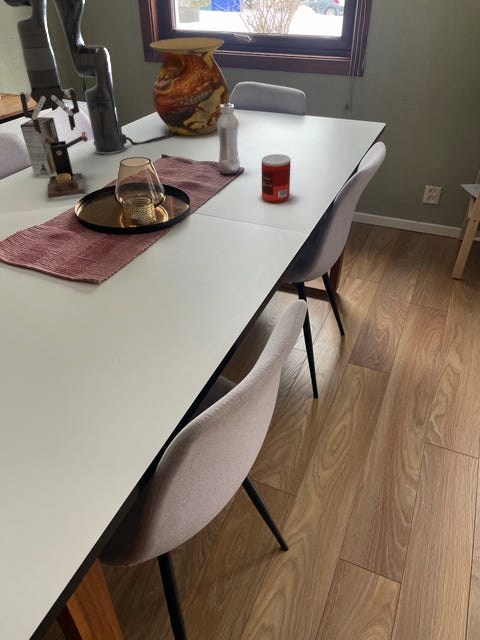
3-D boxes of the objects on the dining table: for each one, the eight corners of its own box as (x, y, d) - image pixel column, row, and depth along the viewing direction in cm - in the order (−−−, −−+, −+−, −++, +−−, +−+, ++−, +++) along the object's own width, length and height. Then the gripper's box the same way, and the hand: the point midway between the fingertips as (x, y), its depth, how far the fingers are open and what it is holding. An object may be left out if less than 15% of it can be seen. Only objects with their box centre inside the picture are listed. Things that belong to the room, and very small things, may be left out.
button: (71, 178, 146) (70, 172, 145) (71, 183, 143) (70, 177, 142) (57, 180, 145) (55, 174, 144) (57, 184, 142) (55, 178, 141)
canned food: (292, 193, 141) (293, 155, 135) (285, 205, 135) (286, 164, 129) (266, 191, 143) (266, 152, 137) (258, 202, 137) (257, 162, 131)
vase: (189, 115, 214) (183, 35, 196) (244, 124, 200) (242, 39, 182) (142, 132, 195) (129, 45, 177) (198, 144, 181) (191, 51, 163)
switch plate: (84, 186, 151) (81, 173, 148) (85, 196, 144) (82, 182, 142) (49, 190, 148) (46, 177, 146) (49, 200, 142) (45, 187, 140)
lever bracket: (82, 176, 158) (74, 138, 151) (83, 185, 151) (74, 145, 144) (51, 180, 156) (41, 141, 149) (50, 189, 149) (40, 149, 142)
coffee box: (48, 167, 165) (35, 116, 156) (66, 168, 164) (54, 117, 155) (34, 177, 158) (19, 124, 149) (52, 178, 157) (38, 125, 148)
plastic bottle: (218, 169, 159) (214, 103, 147) (239, 168, 159) (237, 102, 147) (219, 177, 154) (215, 108, 142) (241, 175, 154) (239, 107, 142)
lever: (88, 136, 150) (84, 129, 149) (89, 141, 146) (85, 134, 145) (57, 153, 150) (52, 146, 149) (57, 158, 146) (52, 151, 145)
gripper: (11, 71, 123) (29, 138, 133) (70, 66, 127) (83, 131, 136) (12, 66, 129) (29, 130, 139) (69, 61, 133) (82, 125, 142)
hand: (56, 131), depth 137 cm, fingers open, 8 cm apart
